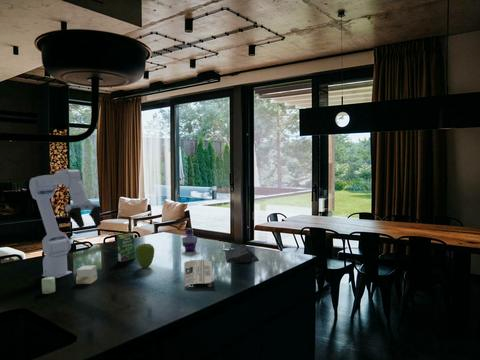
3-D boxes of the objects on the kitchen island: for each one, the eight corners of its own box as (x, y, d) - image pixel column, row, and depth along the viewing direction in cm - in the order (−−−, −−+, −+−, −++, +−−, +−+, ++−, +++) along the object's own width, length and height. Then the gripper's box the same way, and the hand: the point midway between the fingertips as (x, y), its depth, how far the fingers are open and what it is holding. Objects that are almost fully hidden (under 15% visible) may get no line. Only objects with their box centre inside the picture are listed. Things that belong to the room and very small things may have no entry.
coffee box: (120, 262, 176) (119, 235, 175) (117, 261, 178) (116, 235, 177) (135, 259, 182) (134, 233, 181) (132, 258, 184) (131, 232, 183)
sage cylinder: (39, 293, 137) (38, 279, 137) (49, 289, 141) (48, 276, 141) (48, 294, 135) (47, 281, 135) (58, 290, 140) (57, 277, 139)
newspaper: (184, 265, 170) (184, 258, 170) (211, 263, 172) (210, 256, 172) (185, 291, 136) (184, 282, 135) (218, 289, 137) (218, 279, 137)
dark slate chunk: (253, 251, 193) (252, 242, 193) (259, 262, 171) (258, 252, 171) (224, 252, 192) (223, 243, 192) (226, 264, 170) (226, 254, 170)
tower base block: (76, 284, 147) (76, 277, 146) (83, 279, 153) (82, 272, 152) (91, 284, 146) (90, 276, 146) (97, 279, 152) (97, 272, 152)
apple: (149, 270, 161) (148, 245, 161) (132, 270, 163) (131, 244, 162) (158, 265, 170) (157, 240, 169) (141, 264, 172) (140, 240, 171)
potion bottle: (178, 250, 197) (178, 228, 196) (192, 247, 203) (191, 226, 202) (187, 253, 190) (187, 230, 190) (201, 250, 196) (200, 228, 196)
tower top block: (77, 277, 147) (76, 269, 146) (83, 272, 152) (83, 265, 152) (90, 276, 146) (90, 269, 146) (96, 272, 152) (96, 265, 152)
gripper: (68, 190, 137) (80, 222, 133) (99, 190, 150) (111, 219, 146) (57, 200, 140) (69, 231, 136) (89, 199, 152) (101, 228, 148)
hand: (90, 226), depth 141 cm, fingers open, 7 cm apart
